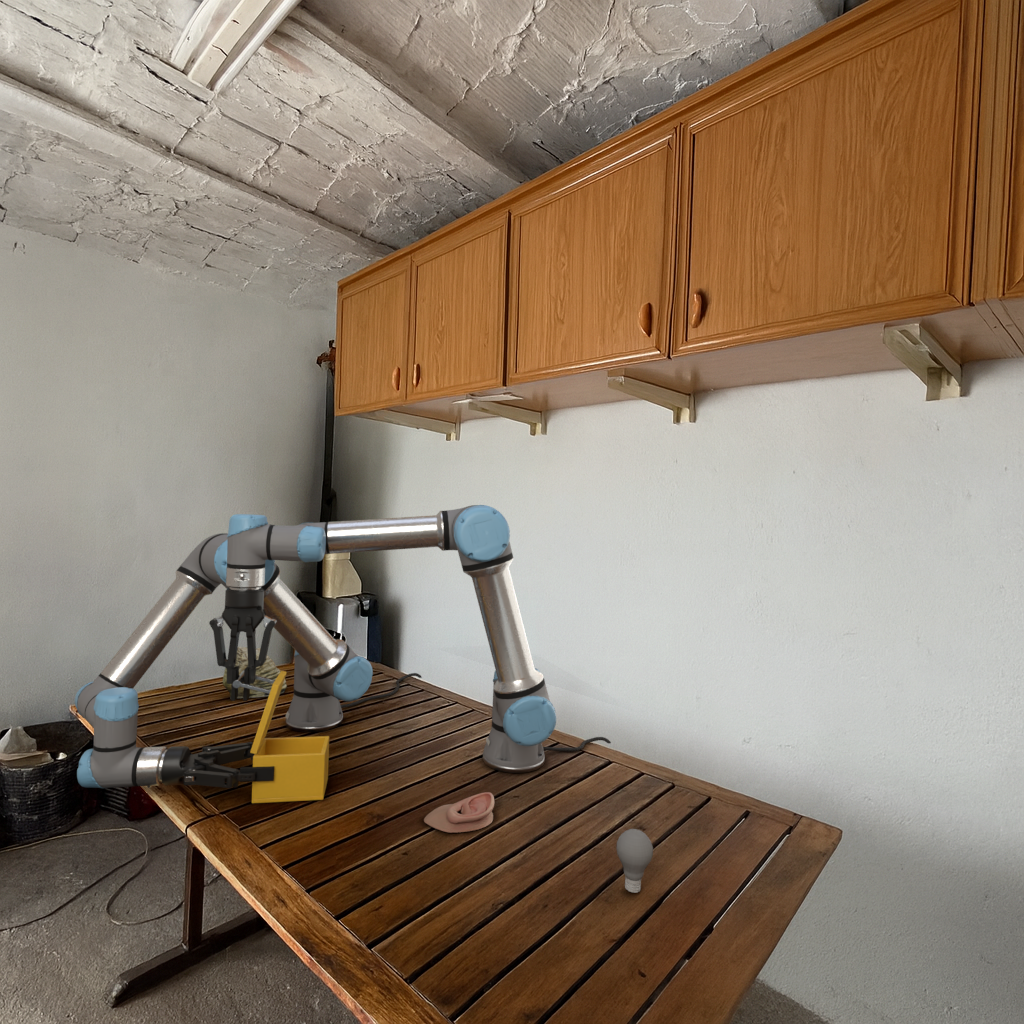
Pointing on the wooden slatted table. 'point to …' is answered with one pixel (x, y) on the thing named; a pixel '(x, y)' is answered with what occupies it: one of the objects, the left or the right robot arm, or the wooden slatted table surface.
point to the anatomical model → (463, 814)
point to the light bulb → (634, 857)
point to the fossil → (265, 671)
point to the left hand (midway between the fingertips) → (278, 762)
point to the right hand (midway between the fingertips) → (240, 698)
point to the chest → (292, 769)
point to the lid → (269, 706)
